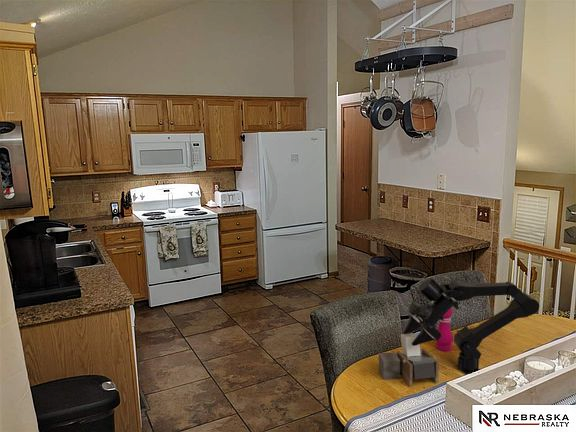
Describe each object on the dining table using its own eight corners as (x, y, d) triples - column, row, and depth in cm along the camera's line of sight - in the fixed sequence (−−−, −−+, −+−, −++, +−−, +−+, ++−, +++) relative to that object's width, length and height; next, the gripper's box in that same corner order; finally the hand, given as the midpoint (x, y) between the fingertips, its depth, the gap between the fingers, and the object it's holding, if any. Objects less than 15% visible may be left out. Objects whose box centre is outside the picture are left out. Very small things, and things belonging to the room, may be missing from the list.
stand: (394, 369, 168) (394, 352, 167) (399, 378, 161) (400, 360, 160) (378, 370, 167) (378, 353, 166) (383, 379, 161) (383, 361, 160)
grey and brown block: (419, 368, 168) (418, 351, 169) (435, 376, 156) (434, 358, 157) (399, 370, 167) (398, 353, 168) (414, 379, 155) (412, 361, 155)
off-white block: (415, 352, 168) (413, 333, 169) (420, 355, 163) (418, 336, 163) (402, 353, 168) (400, 334, 168) (407, 356, 162) (405, 337, 163)
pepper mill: (431, 344, 187) (432, 299, 184) (448, 343, 188) (449, 298, 185) (438, 352, 180) (440, 305, 177) (456, 351, 181) (457, 304, 178)
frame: (425, 368, 168) (425, 347, 167) (439, 383, 158) (440, 361, 156) (395, 371, 166) (395, 351, 165) (408, 387, 156) (408, 365, 154)
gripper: (414, 287, 171) (385, 316, 172) (433, 304, 153) (401, 336, 154) (433, 305, 173) (405, 334, 174) (454, 324, 155) (423, 356, 156)
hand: (408, 339), depth 164 cm, fingers open, 9 cm apart
